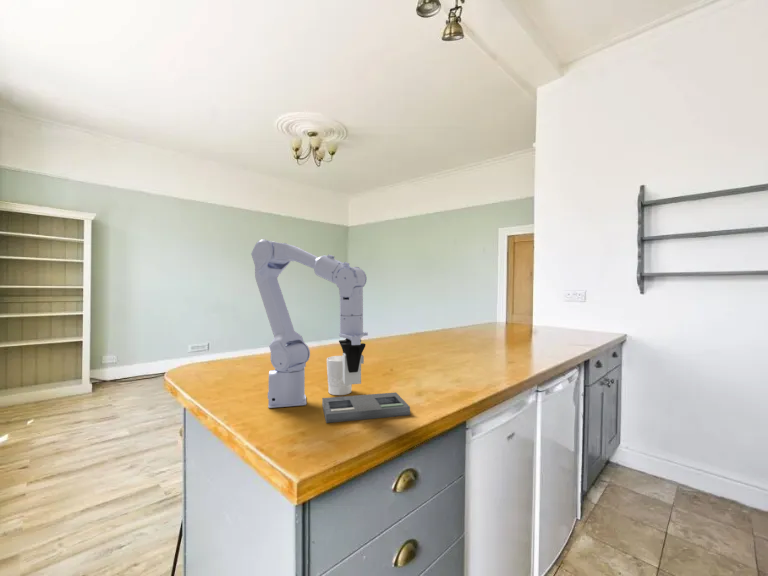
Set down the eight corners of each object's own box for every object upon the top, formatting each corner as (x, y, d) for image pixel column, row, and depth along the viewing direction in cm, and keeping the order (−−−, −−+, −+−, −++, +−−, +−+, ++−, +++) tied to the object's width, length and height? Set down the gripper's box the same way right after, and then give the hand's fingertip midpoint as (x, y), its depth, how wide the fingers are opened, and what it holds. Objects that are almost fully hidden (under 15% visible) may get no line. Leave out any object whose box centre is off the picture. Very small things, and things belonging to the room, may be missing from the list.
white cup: (327, 388, 106) (327, 355, 106) (353, 387, 107) (353, 355, 107) (325, 396, 98) (325, 361, 98) (353, 395, 99) (353, 360, 99)
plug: (344, 384, 84) (344, 355, 84) (342, 380, 88) (342, 352, 88) (364, 383, 85) (364, 354, 85) (361, 379, 89) (361, 352, 89)
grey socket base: (326, 423, 79) (326, 413, 79) (322, 405, 91) (322, 397, 91) (409, 415, 84) (409, 405, 84) (396, 399, 96) (396, 391, 96)
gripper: (373, 317, 80) (373, 375, 80) (362, 313, 94) (362, 363, 94) (342, 317, 79) (343, 377, 79) (336, 313, 93) (336, 364, 93)
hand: (351, 370), depth 86 cm, fingers closed on plug, 4 cm apart
